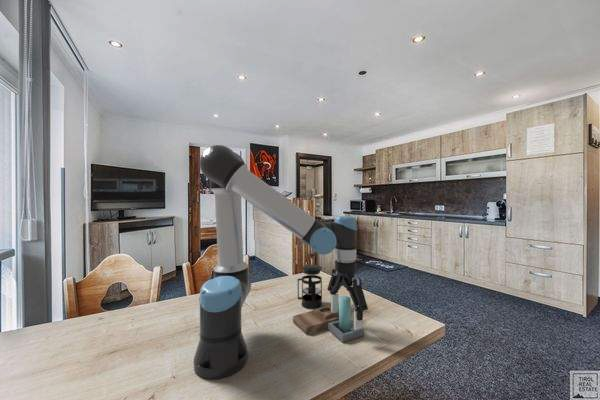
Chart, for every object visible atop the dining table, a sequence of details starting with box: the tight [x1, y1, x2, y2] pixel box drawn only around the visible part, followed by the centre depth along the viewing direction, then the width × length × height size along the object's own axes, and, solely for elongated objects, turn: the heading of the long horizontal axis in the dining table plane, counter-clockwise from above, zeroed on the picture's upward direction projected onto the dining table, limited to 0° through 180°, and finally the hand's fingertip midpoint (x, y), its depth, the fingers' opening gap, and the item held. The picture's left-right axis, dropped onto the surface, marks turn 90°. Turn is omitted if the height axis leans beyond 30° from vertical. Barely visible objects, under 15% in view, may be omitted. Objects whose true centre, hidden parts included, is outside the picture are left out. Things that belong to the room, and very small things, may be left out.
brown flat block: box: [292, 305, 339, 336], centre depth 96 cm, size 16×10×4 cm, turn 120°
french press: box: [297, 252, 323, 310], centre depth 112 cm, size 12×9×23 cm
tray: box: [327, 319, 365, 344], centre depth 88 cm, size 9×9×2 cm
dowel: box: [338, 295, 352, 333], centre depth 88 cm, size 4×4×12 cm
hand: (345, 319), depth 88 cm, fingers open, 13 cm apart
